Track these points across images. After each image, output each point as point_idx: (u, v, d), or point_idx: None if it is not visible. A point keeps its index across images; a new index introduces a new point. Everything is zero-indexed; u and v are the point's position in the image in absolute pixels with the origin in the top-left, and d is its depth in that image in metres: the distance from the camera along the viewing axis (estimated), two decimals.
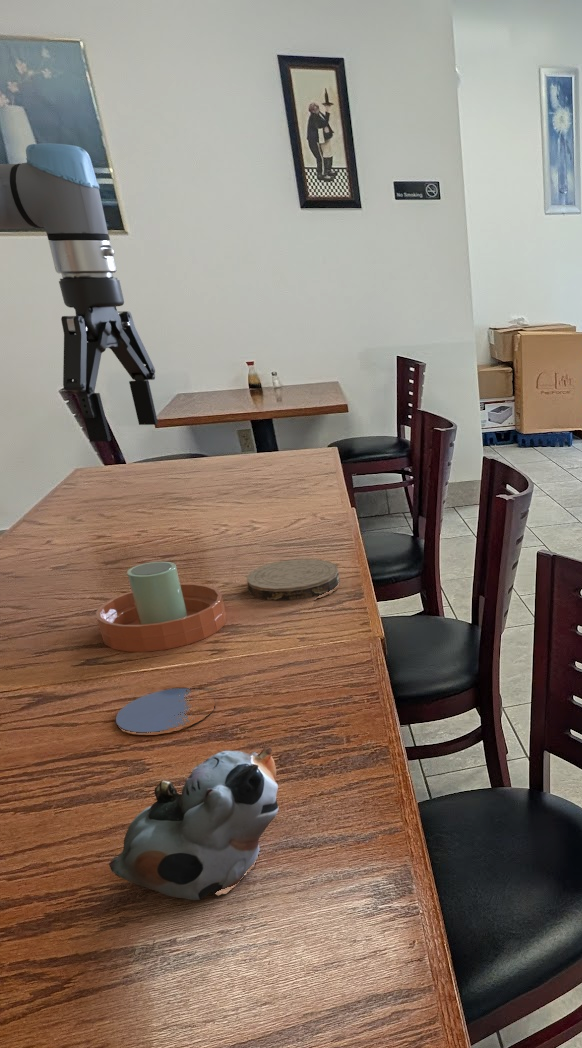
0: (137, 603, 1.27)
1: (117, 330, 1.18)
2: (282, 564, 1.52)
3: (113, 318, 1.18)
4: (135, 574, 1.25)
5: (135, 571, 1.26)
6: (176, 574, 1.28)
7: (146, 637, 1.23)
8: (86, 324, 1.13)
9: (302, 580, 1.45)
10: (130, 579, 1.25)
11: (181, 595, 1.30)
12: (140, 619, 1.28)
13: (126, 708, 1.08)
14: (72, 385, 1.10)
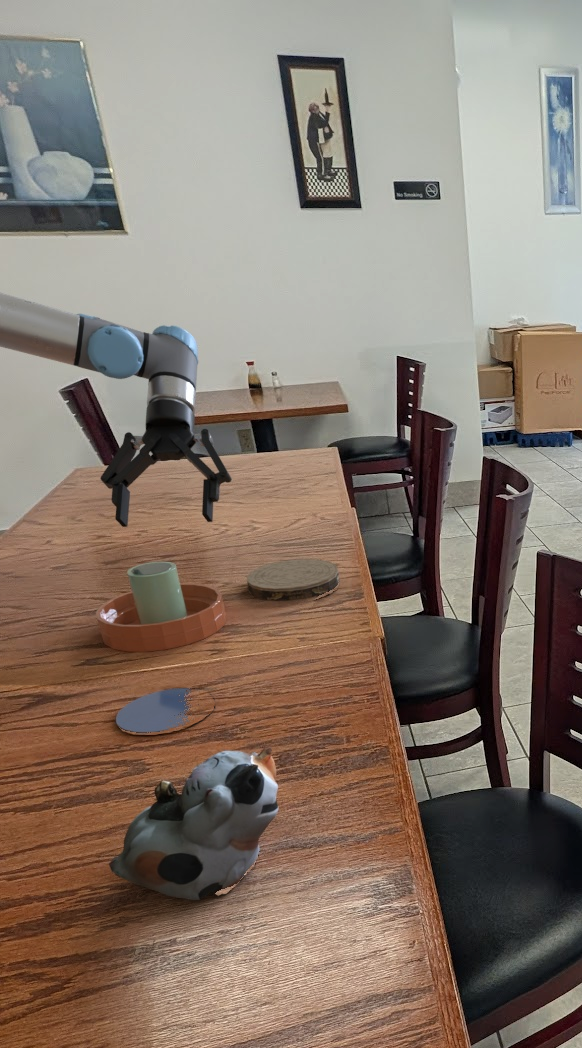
0: (137, 603, 1.27)
1: None
2: (282, 564, 1.52)
3: None
4: (135, 574, 1.25)
5: (135, 571, 1.26)
6: (176, 574, 1.28)
7: (146, 637, 1.23)
8: (196, 441, 1.40)
9: (302, 580, 1.45)
10: (130, 579, 1.25)
11: (181, 595, 1.30)
12: (140, 619, 1.28)
13: (126, 708, 1.08)
14: (229, 475, 1.38)
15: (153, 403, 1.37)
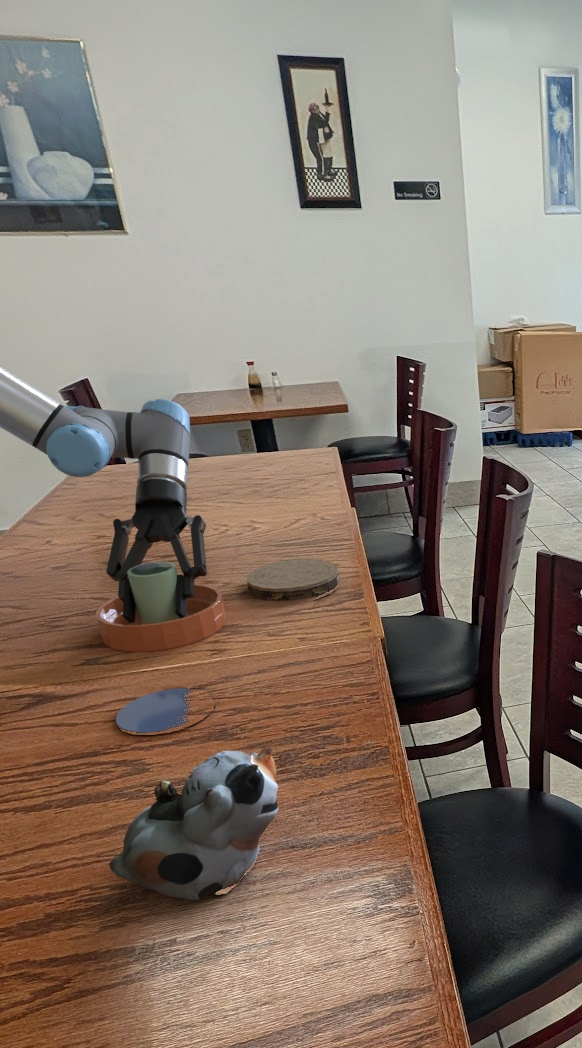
0: (137, 603, 1.27)
1: None
2: (282, 564, 1.52)
3: None
4: (135, 573, 1.25)
5: (135, 571, 1.26)
6: (176, 574, 1.28)
7: (146, 637, 1.23)
8: (187, 523, 1.34)
9: (302, 580, 1.45)
10: (130, 579, 1.25)
11: None
12: (140, 619, 1.28)
13: (126, 708, 1.08)
14: (204, 570, 1.31)
15: (144, 483, 1.31)
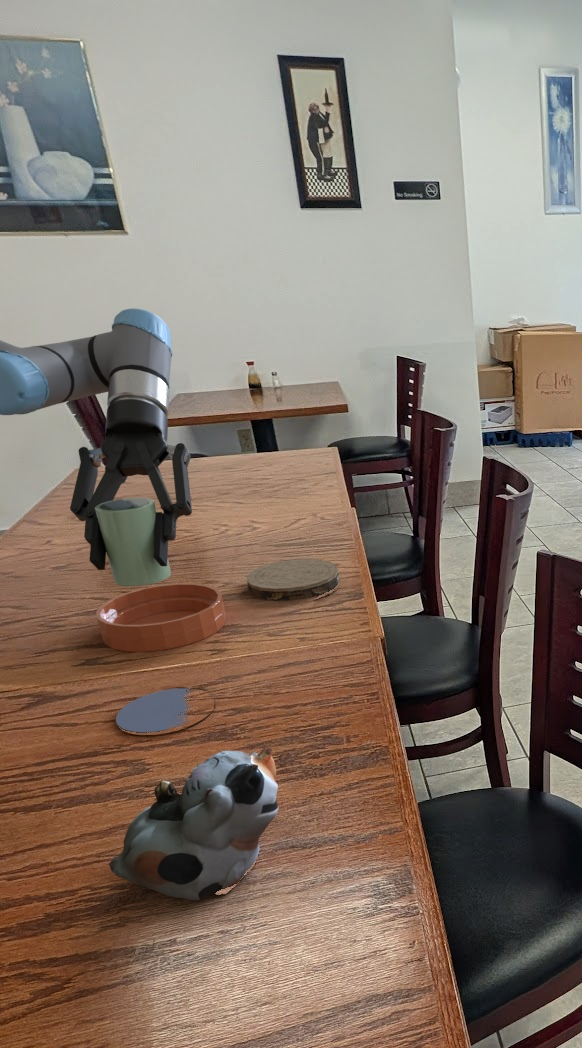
0: (108, 546, 1.05)
1: None
2: (282, 564, 1.52)
3: None
4: (105, 509, 1.04)
5: (104, 507, 1.05)
6: (154, 511, 1.07)
7: (146, 637, 1.23)
8: (168, 454, 1.12)
9: (302, 580, 1.45)
10: (98, 516, 1.04)
11: None
12: (111, 566, 1.07)
13: (126, 708, 1.08)
14: (188, 507, 1.09)
15: (115, 404, 1.09)
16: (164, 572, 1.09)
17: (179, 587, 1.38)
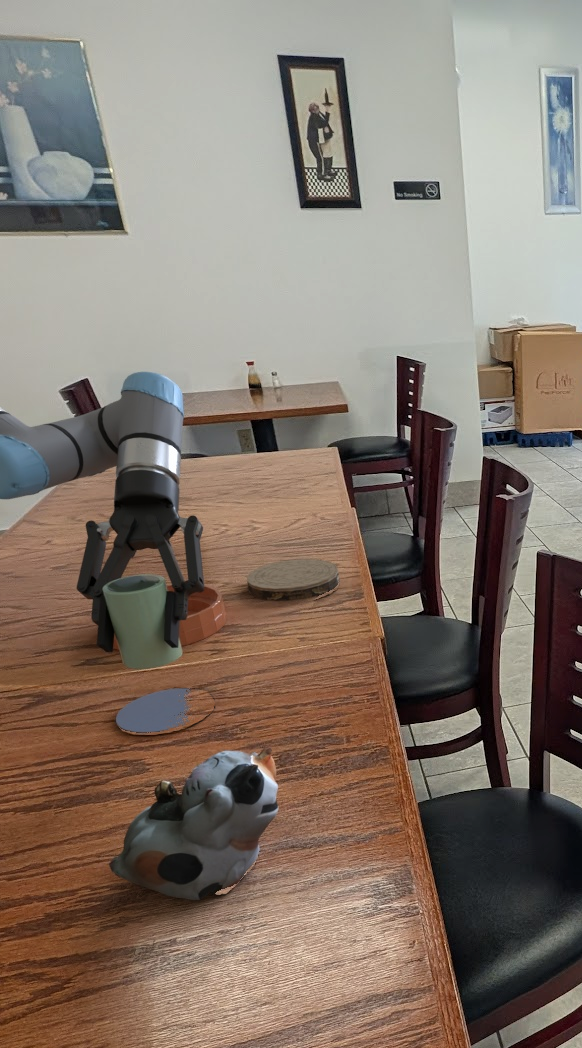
0: (116, 628, 1.00)
1: None
2: (282, 564, 1.52)
3: None
4: (113, 590, 0.98)
5: (112, 587, 0.99)
6: (165, 590, 1.01)
7: None
8: (180, 526, 1.06)
9: (302, 580, 1.45)
10: (106, 597, 0.98)
11: None
12: (120, 648, 1.01)
13: (126, 708, 1.08)
14: (201, 584, 1.03)
15: (124, 475, 1.04)
16: (175, 652, 1.03)
17: None
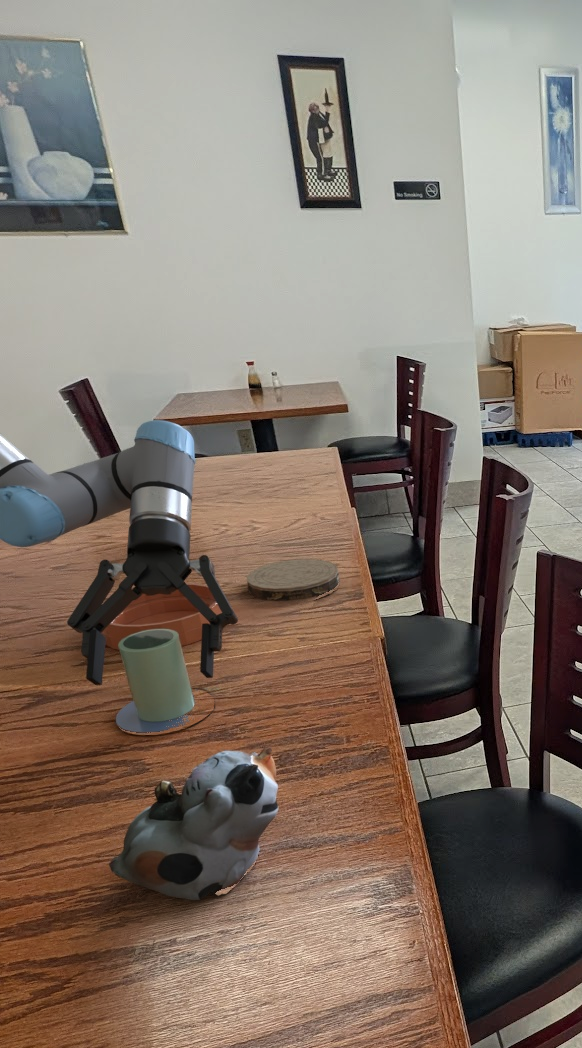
0: (131, 683, 1.03)
1: None
2: (282, 564, 1.52)
3: None
4: (128, 647, 1.01)
5: (128, 643, 1.02)
6: (179, 646, 1.04)
7: None
8: (192, 569, 1.10)
9: (302, 580, 1.45)
10: (122, 654, 1.01)
11: (185, 670, 1.06)
12: (134, 701, 1.04)
13: (126, 708, 1.08)
14: (235, 615, 1.08)
15: (137, 523, 1.07)
16: (188, 704, 1.07)
17: None
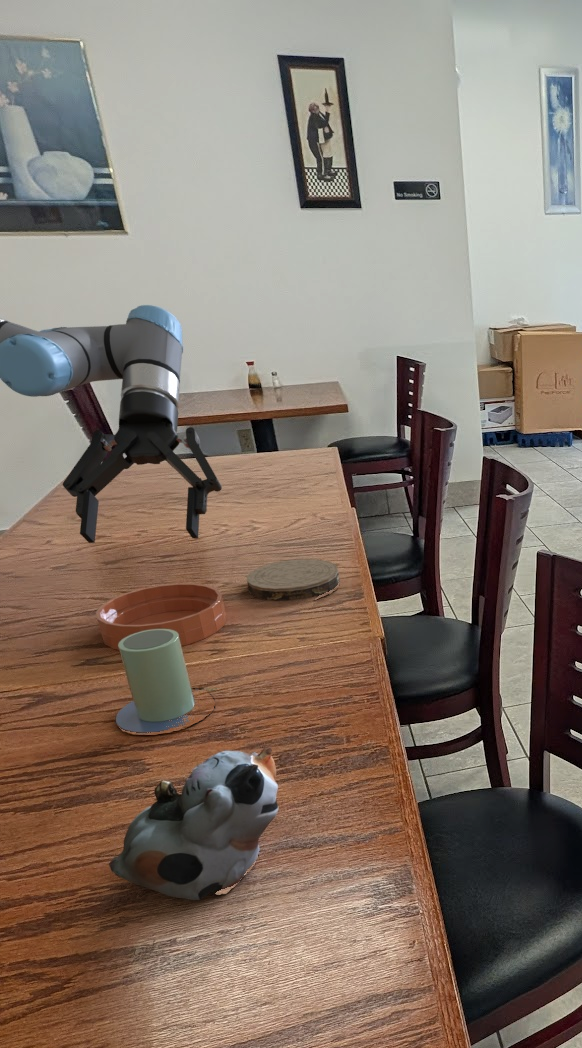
0: (131, 683, 1.03)
1: None
2: (282, 564, 1.52)
3: None
4: (128, 647, 1.01)
5: (128, 643, 1.02)
6: (179, 646, 1.04)
7: None
8: None
9: (302, 580, 1.45)
10: (122, 654, 1.01)
11: (185, 670, 1.06)
12: (134, 701, 1.04)
13: (126, 708, 1.08)
14: None
15: (128, 396, 1.15)
16: (188, 704, 1.07)
17: (179, 587, 1.38)
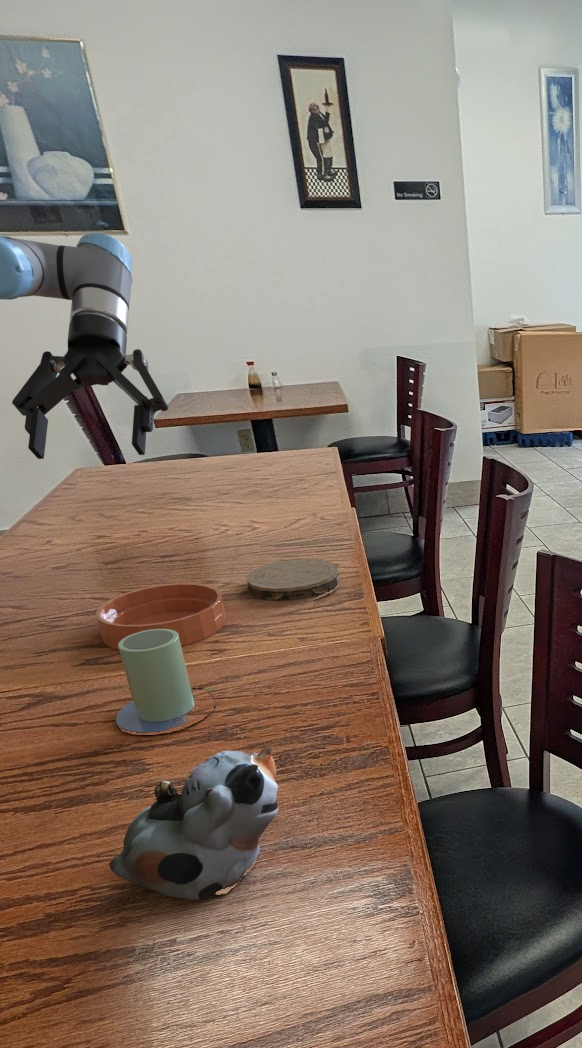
0: (131, 683, 1.03)
1: None
2: (282, 564, 1.52)
3: None
4: (128, 647, 1.01)
5: (128, 643, 1.02)
6: (179, 646, 1.04)
7: None
8: None
9: (302, 580, 1.45)
10: (122, 654, 1.01)
11: (185, 670, 1.06)
12: (134, 701, 1.04)
13: (126, 708, 1.08)
14: (165, 402, 1.19)
15: (76, 318, 1.18)
16: (188, 704, 1.07)
17: (179, 587, 1.38)
